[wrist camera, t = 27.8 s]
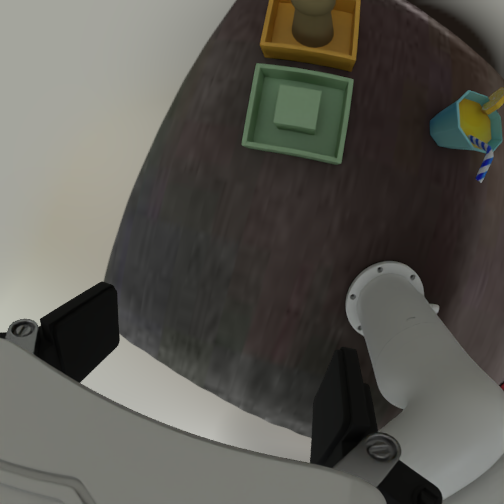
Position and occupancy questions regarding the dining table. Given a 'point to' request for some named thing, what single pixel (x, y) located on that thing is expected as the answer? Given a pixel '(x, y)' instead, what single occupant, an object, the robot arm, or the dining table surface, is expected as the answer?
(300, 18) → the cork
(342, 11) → the ochre bin
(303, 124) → the green block
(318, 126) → the green bin
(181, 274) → the dining table surface
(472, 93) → the cup
